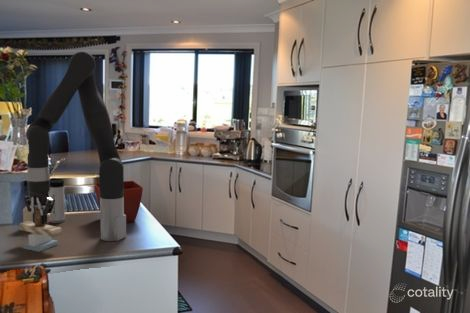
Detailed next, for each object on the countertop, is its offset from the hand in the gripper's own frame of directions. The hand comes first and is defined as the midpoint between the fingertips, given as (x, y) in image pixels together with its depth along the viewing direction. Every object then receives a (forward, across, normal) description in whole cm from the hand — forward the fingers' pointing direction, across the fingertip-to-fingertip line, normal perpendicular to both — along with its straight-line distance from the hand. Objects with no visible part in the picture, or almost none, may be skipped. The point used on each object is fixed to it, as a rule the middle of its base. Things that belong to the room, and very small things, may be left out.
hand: (40, 223), depth 150 cm
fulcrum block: (+9, 0, 0) cm, 9 cm away
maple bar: (+3, 0, 0) cm, 3 cm away
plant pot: (+9, -3, -43) cm, 44 cm away
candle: (+9, +22, -15) cm, 29 cm away
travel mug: (+9, +20, -28) cm, 36 cm away
